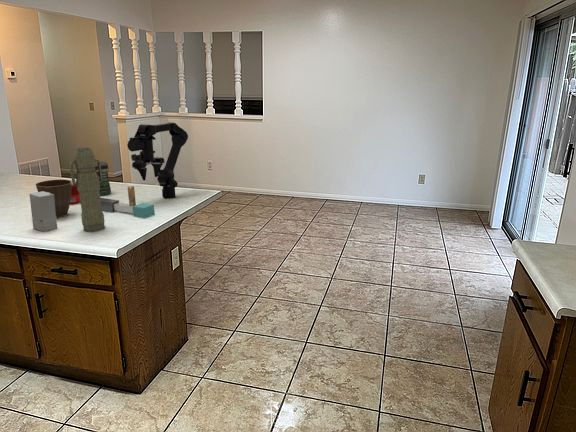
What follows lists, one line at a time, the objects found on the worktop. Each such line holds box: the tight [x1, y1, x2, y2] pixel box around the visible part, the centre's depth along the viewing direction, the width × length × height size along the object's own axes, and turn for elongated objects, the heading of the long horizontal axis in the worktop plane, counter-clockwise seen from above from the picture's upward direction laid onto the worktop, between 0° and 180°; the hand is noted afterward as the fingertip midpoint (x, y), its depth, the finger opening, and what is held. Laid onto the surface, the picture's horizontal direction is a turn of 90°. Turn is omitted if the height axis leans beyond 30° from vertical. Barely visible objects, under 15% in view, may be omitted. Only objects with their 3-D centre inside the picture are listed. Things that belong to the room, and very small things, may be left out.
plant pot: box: [35, 179, 72, 218], centre depth 201 cm, size 15×15×16 cm
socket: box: [132, 202, 156, 219], centre depth 203 cm, size 7×7×5 cm
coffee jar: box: [95, 161, 112, 197], centre depth 239 cm, size 10×8×19 cm
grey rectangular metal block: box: [100, 197, 120, 213], centre depth 212 cm, size 14×5×5 cm, turn 67°
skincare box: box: [29, 191, 58, 232], centre depth 182 cm, size 8×7×16 cm
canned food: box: [69, 180, 81, 206], centre depth 223 cm, size 8×8×11 cm
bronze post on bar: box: [112, 185, 137, 214], centre depth 206 cm, size 22×3×13 cm, turn 67°
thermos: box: [69, 147, 106, 233], centre depth 180 cm, size 9×12×35 cm
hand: (150, 178), depth 222 cm, fingers open, 9 cm apart
